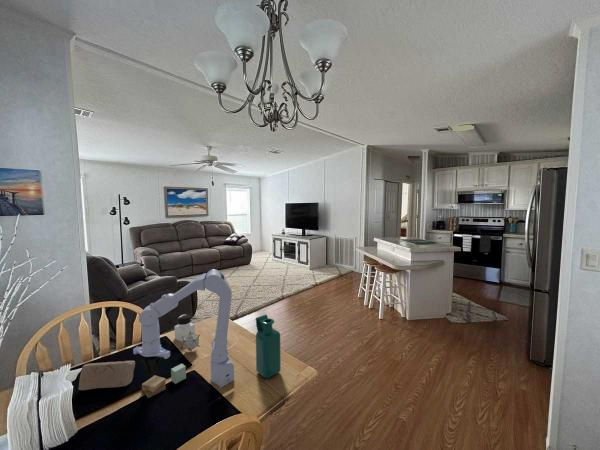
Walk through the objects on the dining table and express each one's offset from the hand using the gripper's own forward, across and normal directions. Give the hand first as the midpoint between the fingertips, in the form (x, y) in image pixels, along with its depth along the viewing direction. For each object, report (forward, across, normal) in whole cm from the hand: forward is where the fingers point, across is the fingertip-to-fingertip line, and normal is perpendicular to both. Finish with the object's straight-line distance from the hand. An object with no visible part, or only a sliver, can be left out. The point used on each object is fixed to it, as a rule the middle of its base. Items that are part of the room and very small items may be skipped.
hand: (152, 373), depth 97 cm
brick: (+7, +18, +2) cm, 20 cm away
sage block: (+6, -5, -7) cm, 11 cm away
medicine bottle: (+7, +13, -36) cm, 39 cm away
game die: (+7, +2, -26) cm, 27 cm away
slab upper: (+5, 0, 0) cm, 5 cm away
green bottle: (+7, -38, -21) cm, 44 cm away
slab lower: (+7, 0, 0) cm, 7 cm away
